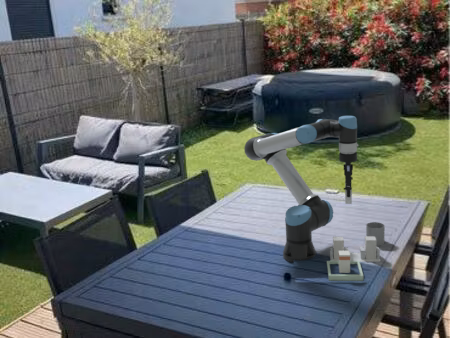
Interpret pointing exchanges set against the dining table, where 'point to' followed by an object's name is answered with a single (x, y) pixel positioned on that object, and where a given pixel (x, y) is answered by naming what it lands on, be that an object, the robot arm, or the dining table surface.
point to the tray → (345, 276)
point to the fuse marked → (344, 262)
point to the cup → (376, 231)
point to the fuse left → (337, 246)
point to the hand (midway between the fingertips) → (348, 198)
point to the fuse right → (370, 247)
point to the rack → (358, 255)
